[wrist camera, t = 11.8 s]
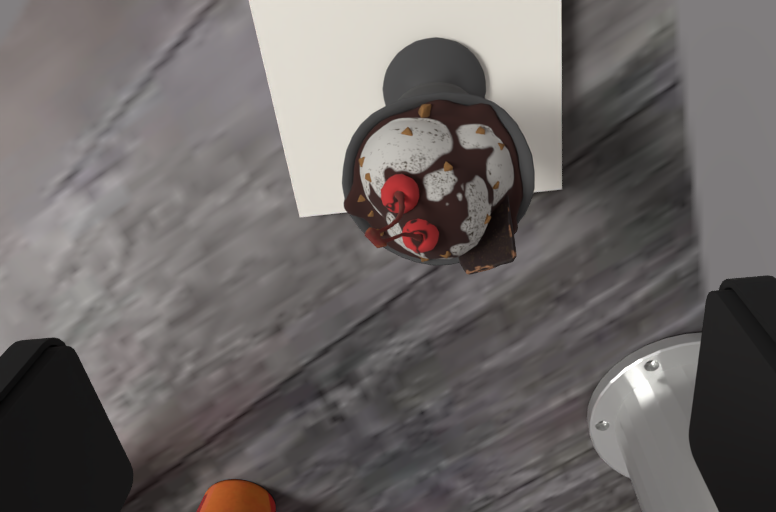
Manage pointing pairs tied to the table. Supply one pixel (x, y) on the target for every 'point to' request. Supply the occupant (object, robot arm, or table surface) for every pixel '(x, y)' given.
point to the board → (369, 64)
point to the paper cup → (237, 498)
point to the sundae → (439, 163)
